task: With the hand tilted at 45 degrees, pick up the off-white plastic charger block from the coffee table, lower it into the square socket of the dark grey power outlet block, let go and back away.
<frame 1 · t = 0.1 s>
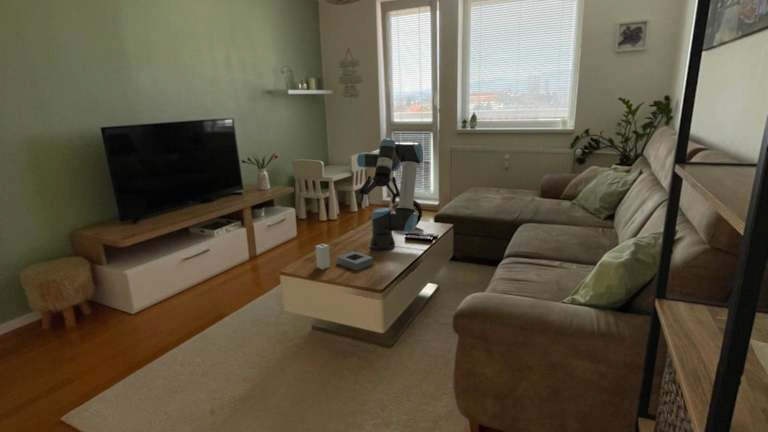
hand: (376, 208, 200), 36 cm above the table, tool tilted 35°, fingers open, 13 cm apart
headphones: (408, 227, 295), on the table
outlet block: (355, 264, 230), on the table
charger: (323, 266, 227), on the table
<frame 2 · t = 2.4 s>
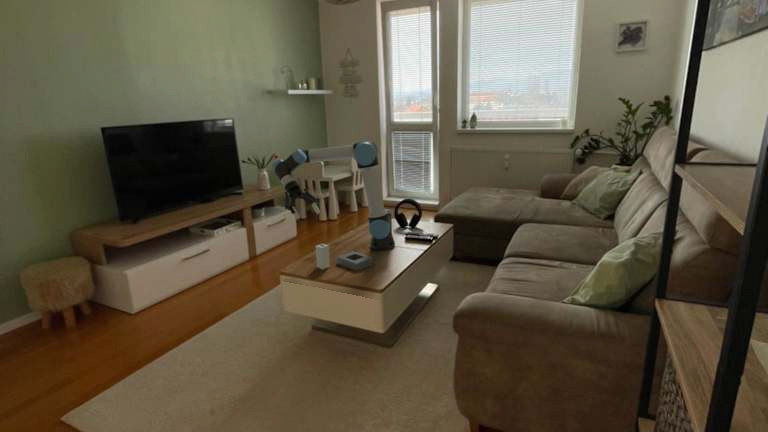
hand: (308, 215, 227), 27 cm above the table, tool tilted 45°, fingers open, 13 cm apart
nothing on the table moved.
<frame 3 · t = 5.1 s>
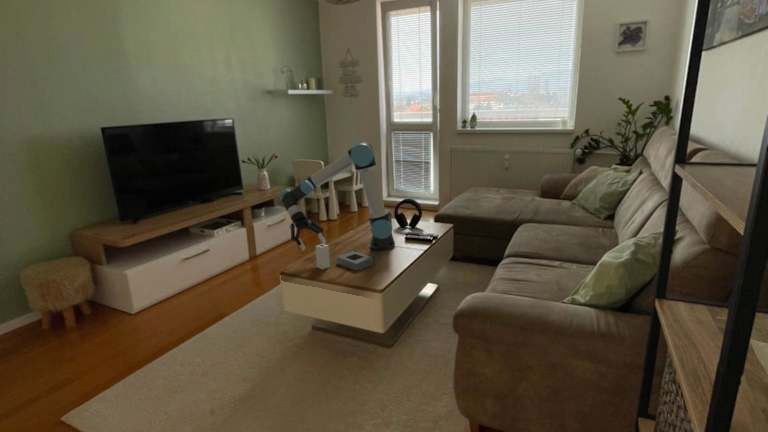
hand: (314, 246, 228), 10 cm above the table, tool tilted 45°, fingers open, 13 cm apart
nothing on the table moved.
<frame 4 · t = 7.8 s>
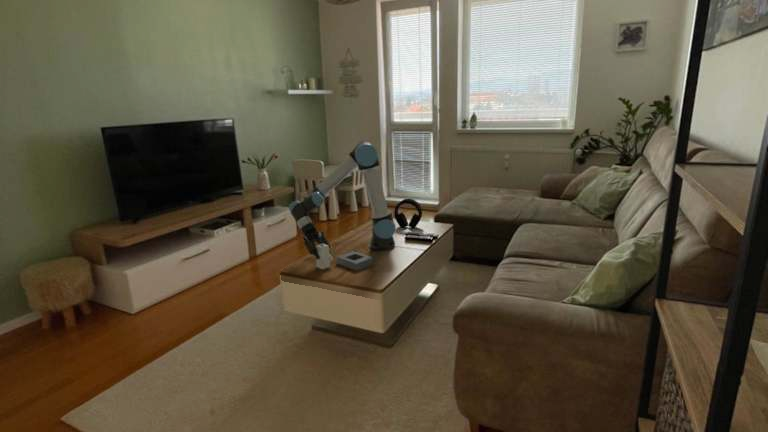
hand: (327, 261, 224), 4 cm above the table, tool tilted 45°, fingers closed on charger, 5 cm apart
charger: (323, 266, 227), on the table, touching gripper
everything else where it was.
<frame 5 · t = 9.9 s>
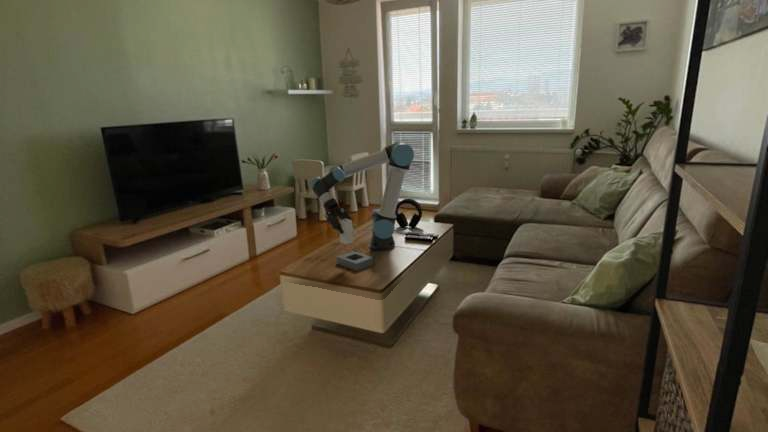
hand: (351, 236, 223), 17 cm above the table, tool tilted 45°, fingers closed on charger, 5 cm apart
charger: (346, 242, 226), point 13 cm above the table, touching gripper
everything else where it was.
when the fingers open (6 cm above the table, at t = 12.4 s): charger drops 1 cm, resting on outlet block.
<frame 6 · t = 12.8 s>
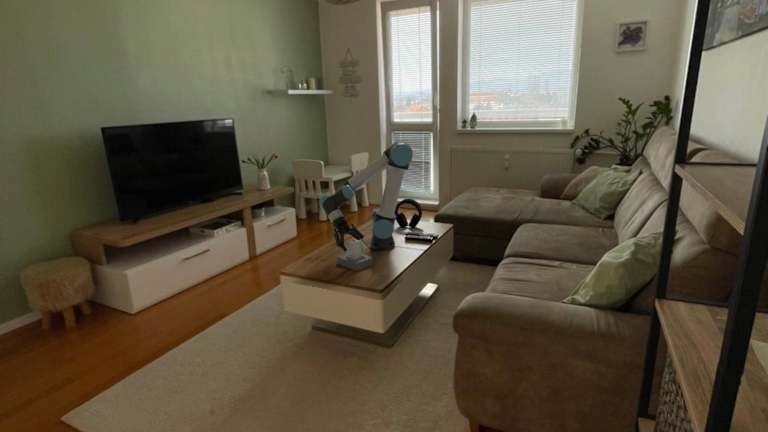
hand: (358, 252, 226), 7 cm above the table, tool tilted 45°, fingers open, 10 cm apart
charger: (354, 262, 230), point 1 cm above the table, touching outlet block
everything else where it was.
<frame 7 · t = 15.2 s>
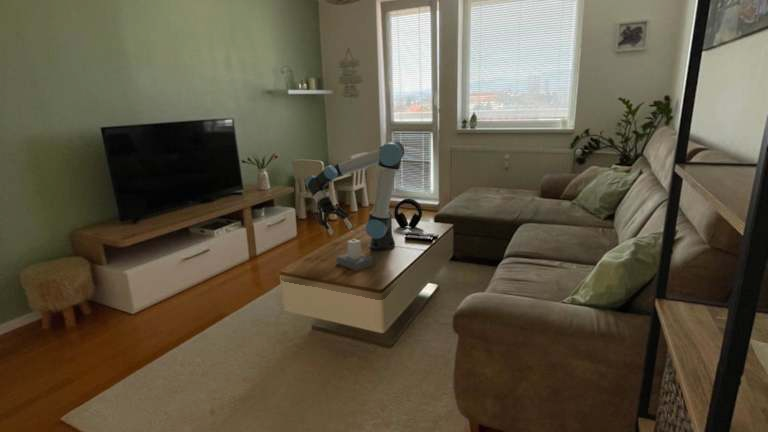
hand: (341, 230, 232), 17 cm above the table, tool tilted 45°, fingers open, 13 cm apart
nothing on the table moved.
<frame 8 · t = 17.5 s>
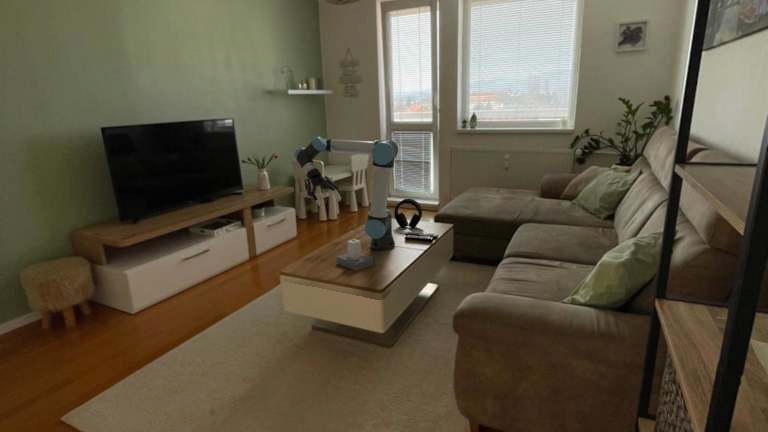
hand: (330, 202, 231), 33 cm above the table, tool tilted 45°, fingers open, 13 cm apart
nothing on the table moved.
at the end: charger 0.0 cm off-centre on the outlet block, point 1.1 cm above the outlet block's base; charger tilted 0°; the gripper is holding nothing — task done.
